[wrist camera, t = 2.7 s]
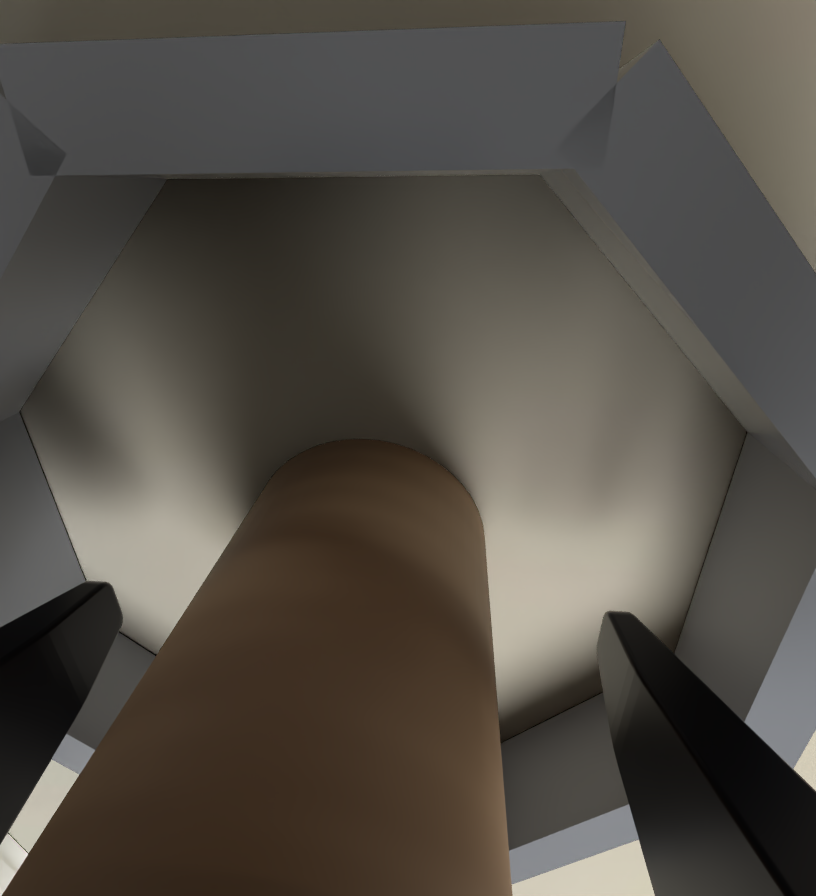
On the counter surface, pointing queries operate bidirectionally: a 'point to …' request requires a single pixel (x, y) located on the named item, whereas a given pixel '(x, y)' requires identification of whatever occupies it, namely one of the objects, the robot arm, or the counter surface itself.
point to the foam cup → (10, 861)
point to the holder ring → (443, 154)
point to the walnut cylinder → (309, 708)
